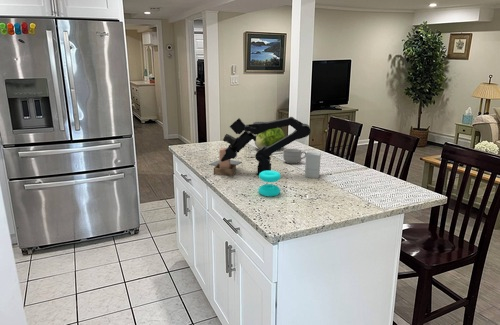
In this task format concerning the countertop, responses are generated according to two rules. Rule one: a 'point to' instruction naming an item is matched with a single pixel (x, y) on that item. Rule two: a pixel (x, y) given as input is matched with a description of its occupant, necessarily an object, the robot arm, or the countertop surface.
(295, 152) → the teacup
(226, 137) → the robot arm
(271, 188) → the donuts
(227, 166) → the terracotta block
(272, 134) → the lettuce
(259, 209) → the countertop surface
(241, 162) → the rubber mat
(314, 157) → the supplement box
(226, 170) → the wooden frame
